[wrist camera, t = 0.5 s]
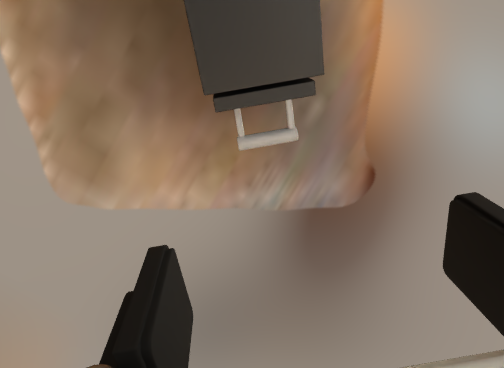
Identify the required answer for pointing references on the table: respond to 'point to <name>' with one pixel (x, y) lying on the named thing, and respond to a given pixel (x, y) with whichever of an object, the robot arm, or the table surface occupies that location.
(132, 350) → the robot arm
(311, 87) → the drawer
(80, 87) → the table surface
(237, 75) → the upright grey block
